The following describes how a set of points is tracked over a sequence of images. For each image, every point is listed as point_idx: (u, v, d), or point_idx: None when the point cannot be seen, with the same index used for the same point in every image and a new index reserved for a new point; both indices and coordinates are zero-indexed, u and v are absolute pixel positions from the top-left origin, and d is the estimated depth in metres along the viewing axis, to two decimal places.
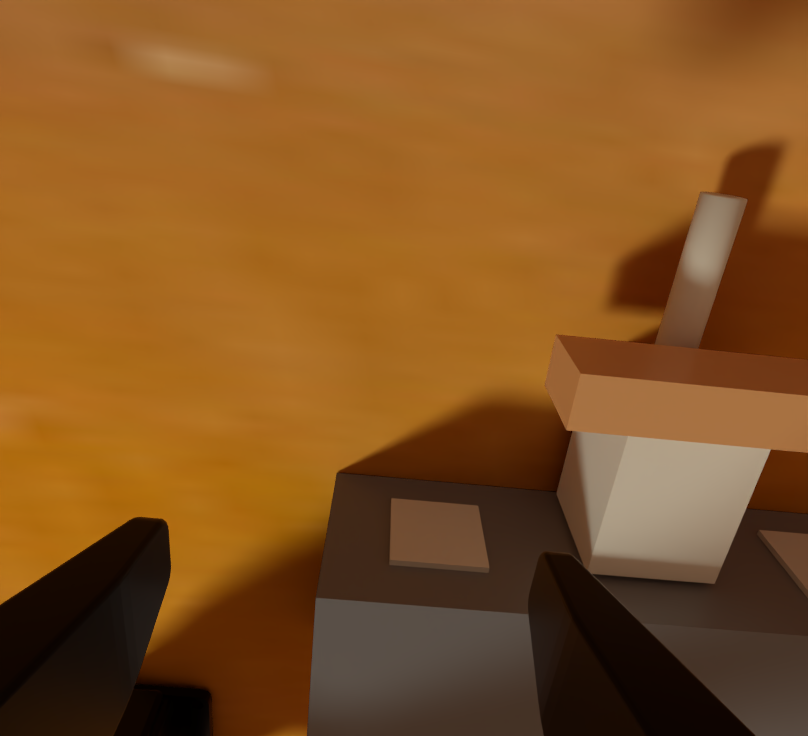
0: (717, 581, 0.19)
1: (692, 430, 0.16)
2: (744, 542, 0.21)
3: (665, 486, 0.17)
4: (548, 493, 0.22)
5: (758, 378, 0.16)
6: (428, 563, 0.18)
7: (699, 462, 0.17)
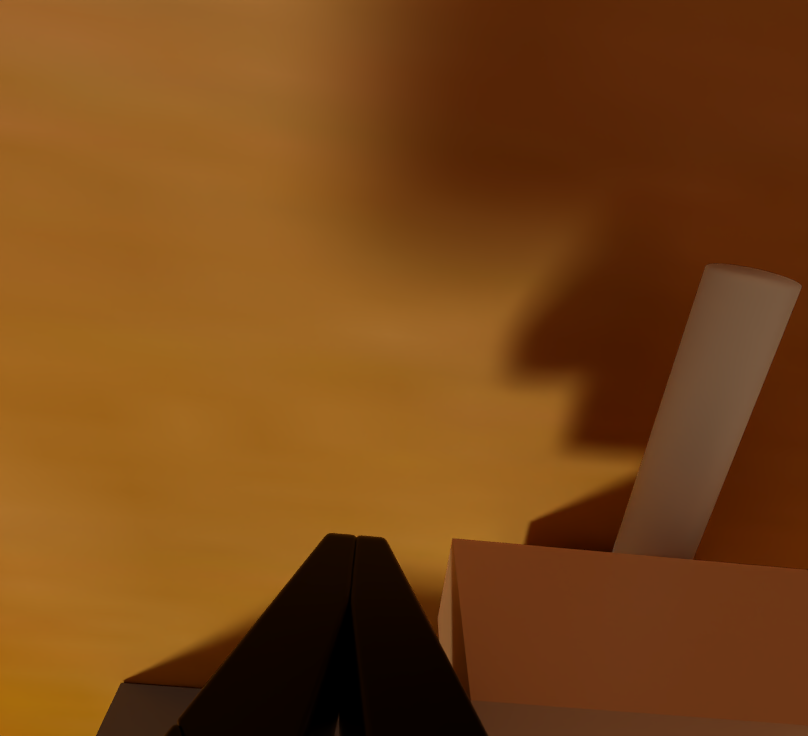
0: None
1: None
2: None
3: None
4: None
5: None
6: None
7: None
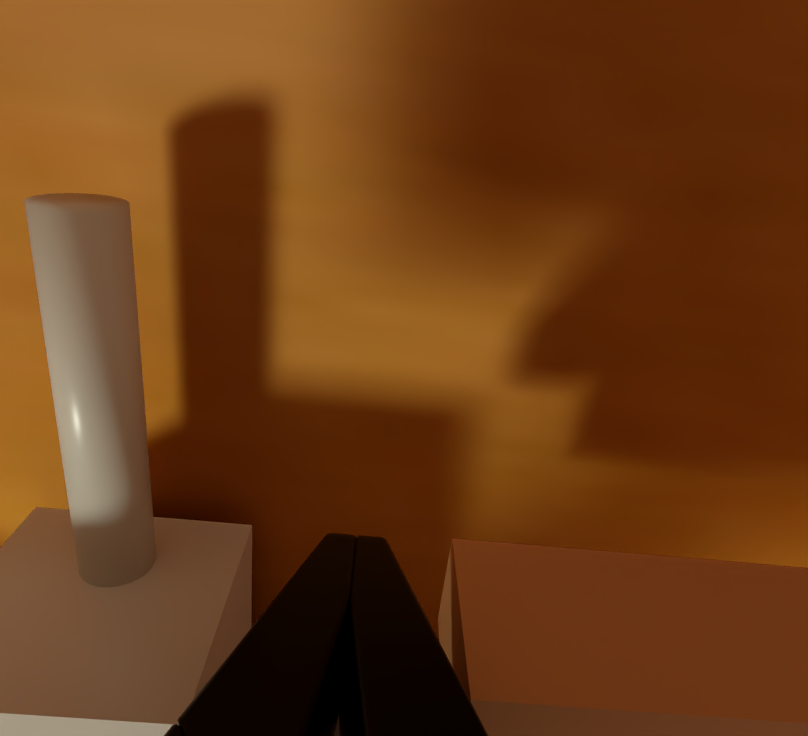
0: None
1: None
2: None
3: None
4: None
5: None
6: None
7: None
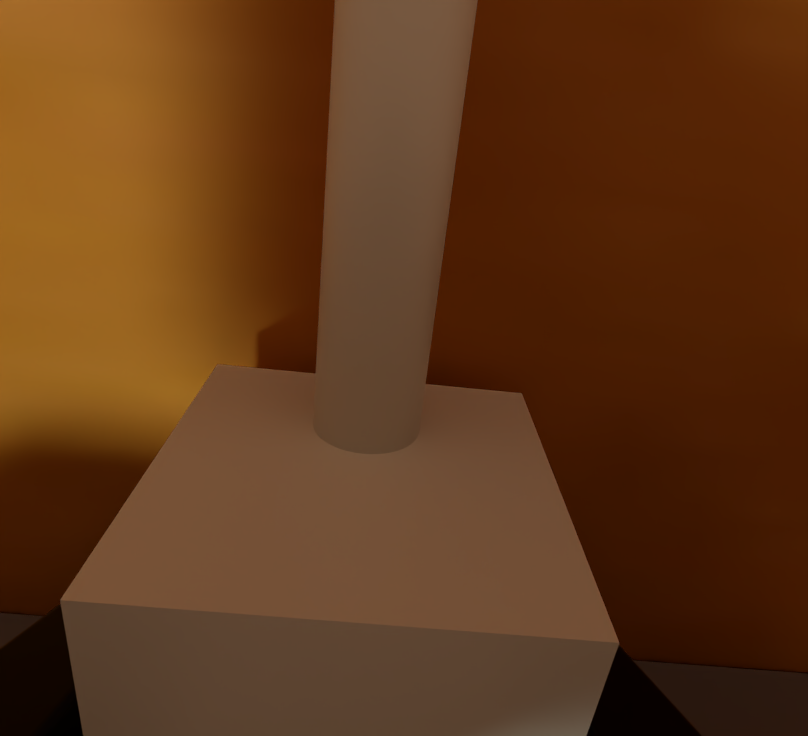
0: None
1: None
2: None
3: None
4: None
5: None
6: None
7: (361, 695, 0.05)
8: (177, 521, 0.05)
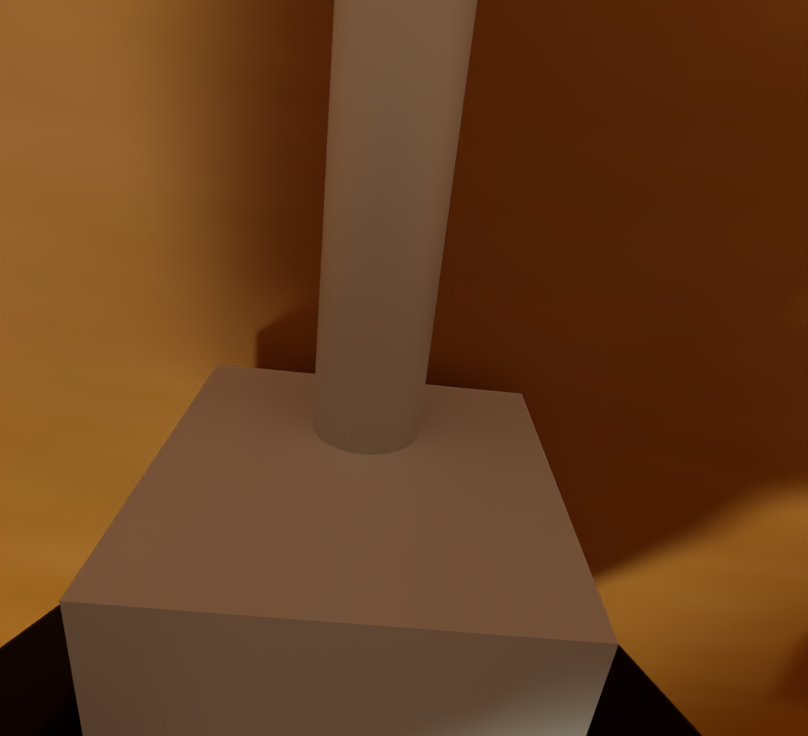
0: None
1: None
2: None
3: None
4: None
5: None
6: None
7: (361, 696, 0.05)
8: (176, 522, 0.05)
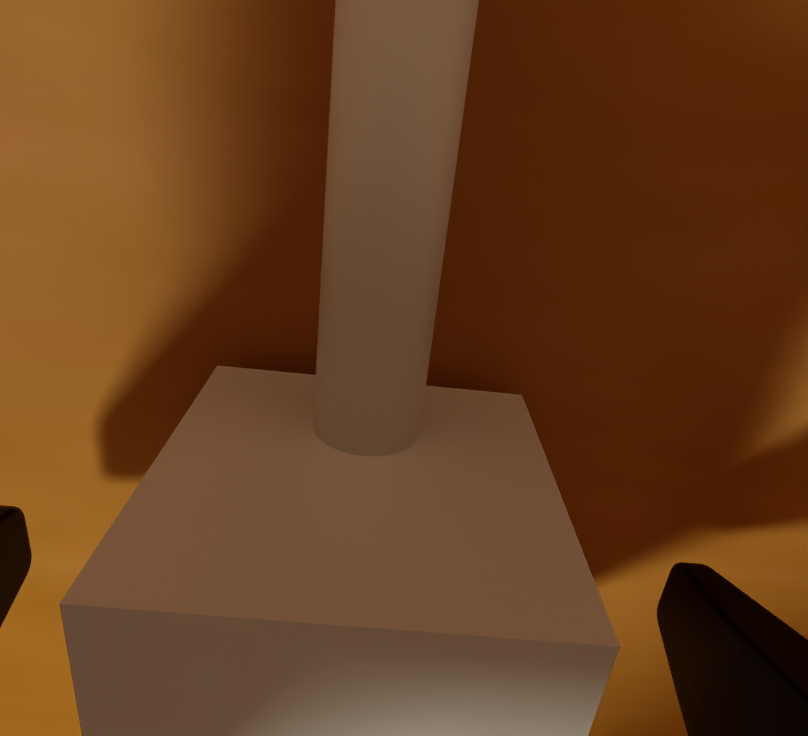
0: None
1: None
2: None
3: None
4: None
5: None
6: None
7: (361, 700, 0.05)
8: (177, 524, 0.05)
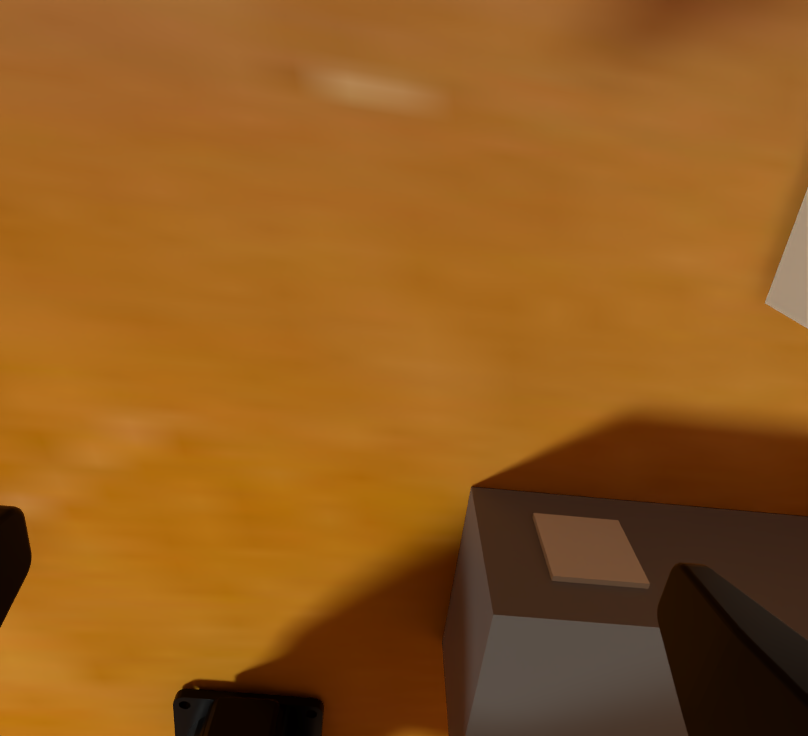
0: None
1: None
2: None
3: None
4: (678, 506, 0.23)
5: None
6: (590, 579, 0.18)
7: None
8: None
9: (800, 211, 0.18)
